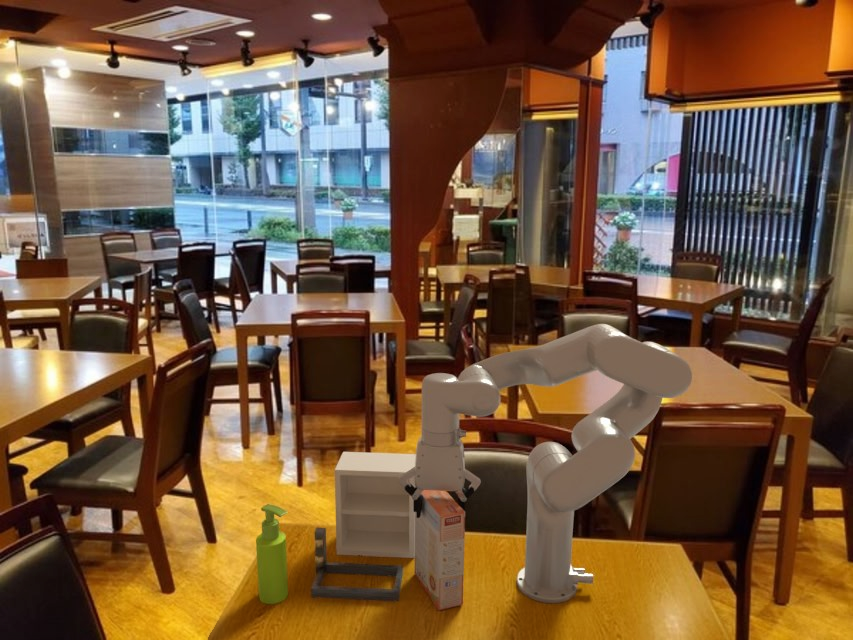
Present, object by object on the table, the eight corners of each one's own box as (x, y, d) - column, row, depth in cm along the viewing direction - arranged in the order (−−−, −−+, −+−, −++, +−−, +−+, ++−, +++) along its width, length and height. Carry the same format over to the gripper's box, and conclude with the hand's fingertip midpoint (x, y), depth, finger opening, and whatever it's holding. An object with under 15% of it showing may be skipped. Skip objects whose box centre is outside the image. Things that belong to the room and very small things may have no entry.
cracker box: (465, 605, 130) (466, 511, 125) (437, 612, 127) (438, 516, 123) (439, 567, 142) (439, 480, 138) (413, 573, 140) (413, 485, 136)
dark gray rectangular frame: (403, 572, 141) (403, 531, 139) (398, 601, 131) (398, 557, 129) (318, 568, 142) (316, 527, 140) (306, 596, 132) (305, 553, 130)
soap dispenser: (278, 609, 128) (274, 518, 124) (252, 598, 131) (248, 509, 127) (297, 593, 133) (294, 505, 129) (272, 583, 136) (268, 497, 132)
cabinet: (417, 534, 156) (418, 454, 152) (414, 558, 146) (414, 472, 142) (345, 531, 157) (343, 451, 153) (336, 554, 147) (334, 469, 143)
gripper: (483, 429, 131) (481, 508, 135) (398, 427, 132) (399, 505, 136) (484, 444, 124) (481, 526, 127) (394, 441, 125) (395, 523, 128)
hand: (439, 515), depth 131 cm, fingers closed on cracker box, 7 cm apart
